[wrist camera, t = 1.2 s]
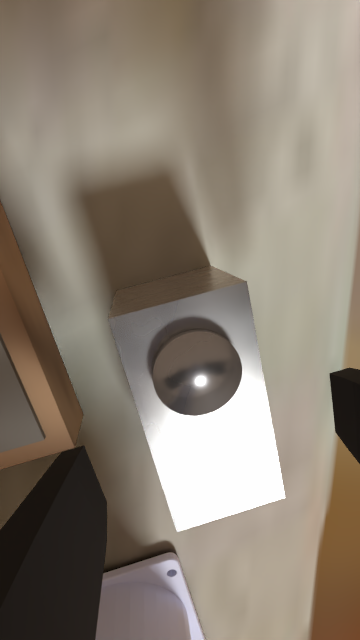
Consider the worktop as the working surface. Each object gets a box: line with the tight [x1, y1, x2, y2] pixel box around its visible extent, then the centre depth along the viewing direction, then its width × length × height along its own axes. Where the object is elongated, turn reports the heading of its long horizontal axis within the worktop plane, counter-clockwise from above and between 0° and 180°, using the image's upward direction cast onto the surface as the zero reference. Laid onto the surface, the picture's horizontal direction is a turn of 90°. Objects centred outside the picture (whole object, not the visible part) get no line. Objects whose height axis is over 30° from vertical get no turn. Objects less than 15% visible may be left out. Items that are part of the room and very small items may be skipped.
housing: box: [108, 266, 285, 532], centre depth 12 cm, size 8×4×5 cm, turn 14°
